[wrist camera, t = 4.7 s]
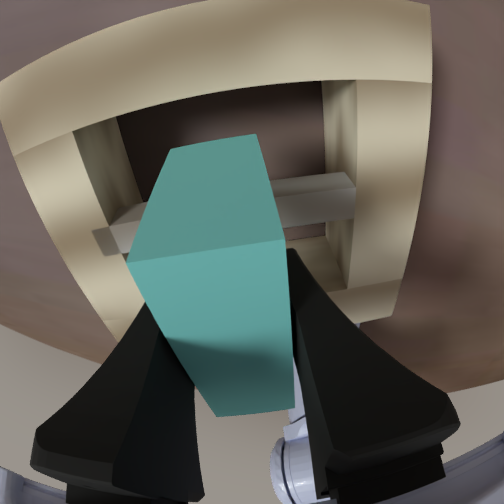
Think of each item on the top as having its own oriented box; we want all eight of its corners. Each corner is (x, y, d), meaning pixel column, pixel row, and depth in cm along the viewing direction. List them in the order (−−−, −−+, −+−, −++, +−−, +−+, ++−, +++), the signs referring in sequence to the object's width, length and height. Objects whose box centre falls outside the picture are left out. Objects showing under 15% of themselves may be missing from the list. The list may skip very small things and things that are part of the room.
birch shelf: (367, 265, 23) (391, 315, 19) (137, 299, 23) (125, 352, 19) (376, 8, 11) (429, 5, 7) (44, 68, 12) (-9, 88, 8)
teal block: (275, 294, 15) (295, 408, 11) (215, 302, 15) (216, 416, 11) (256, 133, 10) (285, 238, 5) (170, 149, 10) (125, 263, 6)
